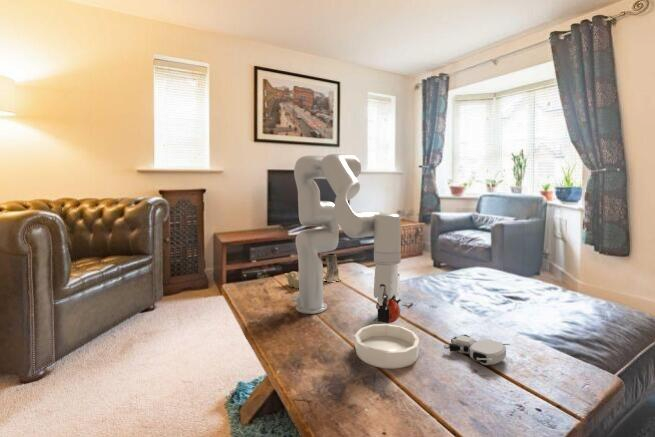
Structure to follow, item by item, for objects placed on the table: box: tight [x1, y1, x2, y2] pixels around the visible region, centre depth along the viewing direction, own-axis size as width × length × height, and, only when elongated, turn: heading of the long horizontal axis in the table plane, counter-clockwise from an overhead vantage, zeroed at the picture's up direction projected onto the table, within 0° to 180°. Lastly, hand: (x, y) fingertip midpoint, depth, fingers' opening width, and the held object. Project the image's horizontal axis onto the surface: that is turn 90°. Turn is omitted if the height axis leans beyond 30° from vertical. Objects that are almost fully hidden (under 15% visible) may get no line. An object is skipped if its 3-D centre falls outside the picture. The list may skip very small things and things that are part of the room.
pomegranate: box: [372, 297, 402, 324], centre depth 95 cm, size 7×7×10 cm
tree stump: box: [323, 253, 340, 283], centre depth 169 cm, size 10×10×13 cm
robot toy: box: [443, 334, 511, 366], centre depth 94 cm, size 12×4×15 cm
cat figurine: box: [284, 270, 299, 289], centre depth 159 cm, size 8×7×12 cm
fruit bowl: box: [354, 323, 420, 370], centre depth 97 cm, size 18×18×4 cm
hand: (387, 316), depth 96 cm, fingers closed on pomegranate, 7 cm apart
